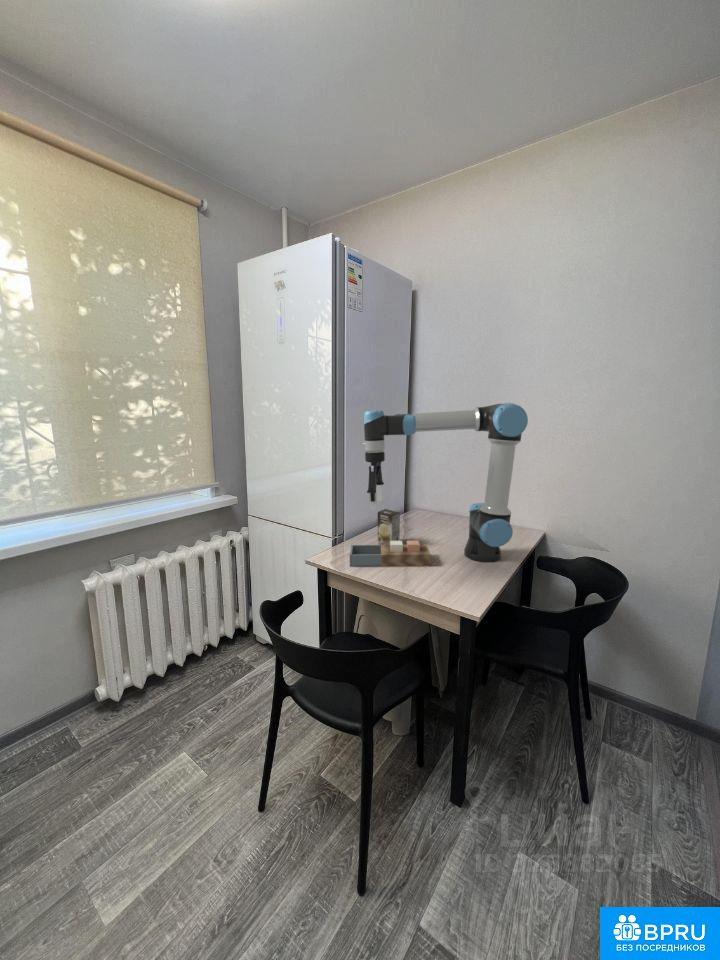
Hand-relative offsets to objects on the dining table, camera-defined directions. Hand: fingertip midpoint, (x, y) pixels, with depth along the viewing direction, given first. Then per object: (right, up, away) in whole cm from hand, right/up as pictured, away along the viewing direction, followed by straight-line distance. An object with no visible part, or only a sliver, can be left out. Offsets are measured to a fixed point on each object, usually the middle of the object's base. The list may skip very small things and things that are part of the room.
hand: (376, 505), depth 152 cm
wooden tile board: (+13, -24, +12) cm, 30 cm away
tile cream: (+9, -20, +11) cm, 24 cm away
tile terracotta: (+16, -19, +11) cm, 27 cm away
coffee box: (+7, -21, +32) cm, 39 cm away
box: (-4, -25, +12) cm, 28 cm away
